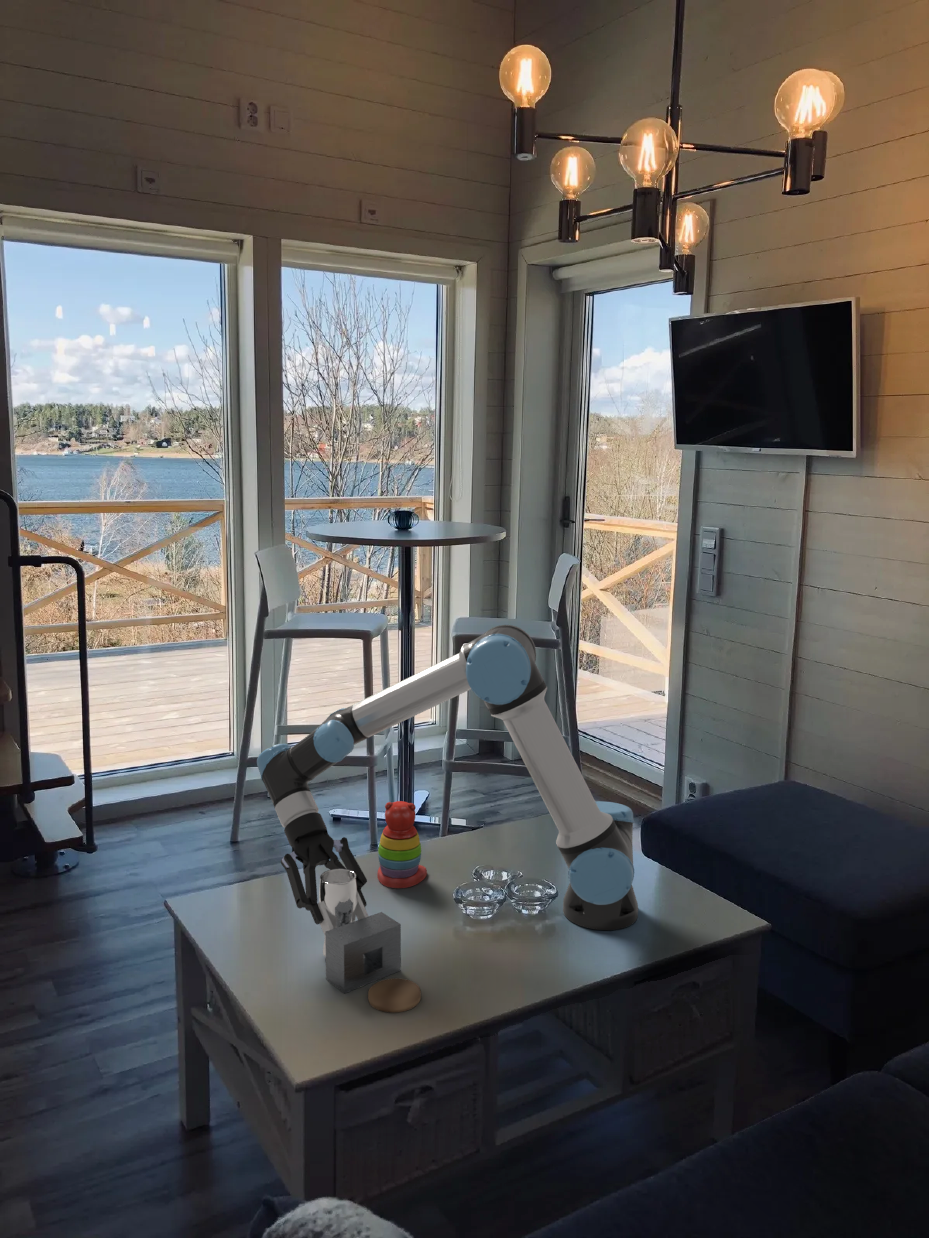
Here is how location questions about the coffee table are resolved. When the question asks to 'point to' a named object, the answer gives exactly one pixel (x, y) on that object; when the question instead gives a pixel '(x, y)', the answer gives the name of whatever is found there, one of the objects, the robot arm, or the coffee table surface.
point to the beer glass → (338, 897)
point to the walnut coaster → (394, 995)
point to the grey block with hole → (363, 951)
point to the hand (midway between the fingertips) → (349, 931)
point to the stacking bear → (400, 848)
